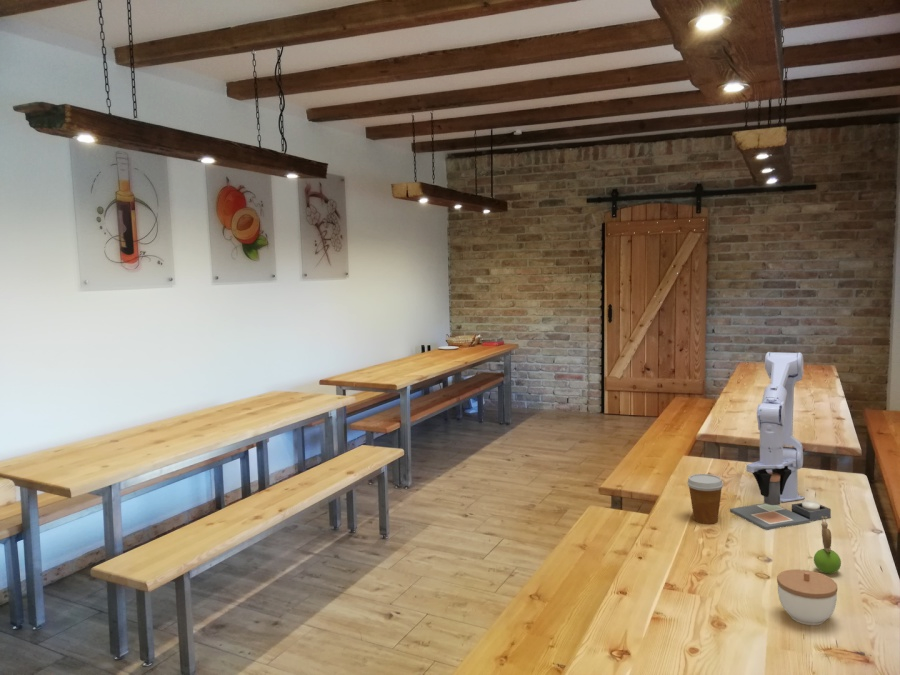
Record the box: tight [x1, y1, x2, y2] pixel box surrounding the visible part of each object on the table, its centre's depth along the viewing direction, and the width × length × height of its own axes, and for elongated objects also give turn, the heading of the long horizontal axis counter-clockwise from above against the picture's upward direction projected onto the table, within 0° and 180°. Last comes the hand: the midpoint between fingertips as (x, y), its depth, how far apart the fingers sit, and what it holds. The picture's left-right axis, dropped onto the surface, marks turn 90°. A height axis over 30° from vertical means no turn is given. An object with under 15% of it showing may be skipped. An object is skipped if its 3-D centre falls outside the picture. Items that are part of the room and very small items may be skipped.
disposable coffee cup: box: [686, 473, 724, 525], centre depth 188 cm, size 10×10×12 cm
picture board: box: [729, 502, 811, 531], centre depth 188 cm, size 15×14×1 cm
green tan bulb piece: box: [813, 516, 842, 574], centre depth 154 cm, size 5×6×12 cm
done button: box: [801, 500, 821, 511], centre depth 187 cm, size 4×4×2 cm
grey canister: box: [763, 472, 781, 506], centre depth 185 cm, size 4×4×8 cm
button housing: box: [791, 502, 832, 522], centre depth 188 cm, size 7×7×3 cm
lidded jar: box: [776, 569, 838, 626], centre depth 135 cm, size 11×11×9 cm
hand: (771, 494), depth 185 cm, fingers closed on grey canister, 4 cm apart
